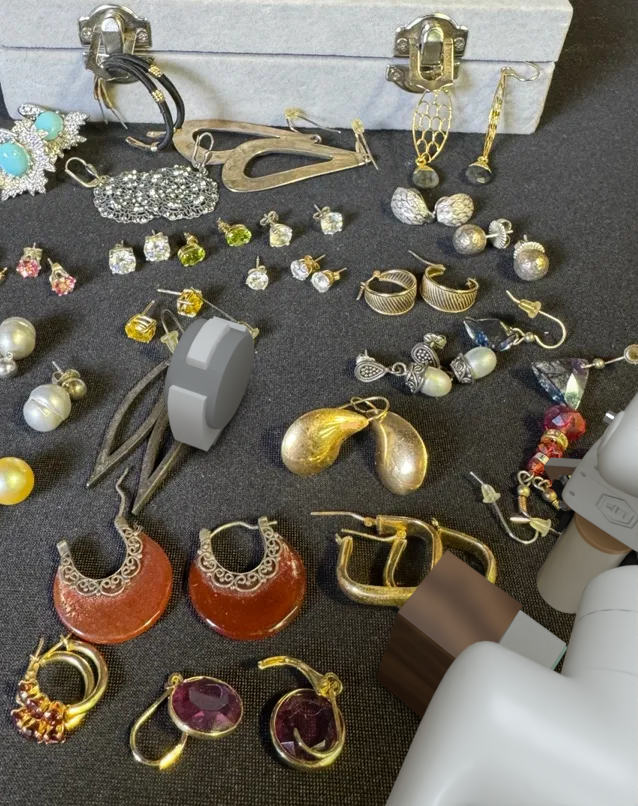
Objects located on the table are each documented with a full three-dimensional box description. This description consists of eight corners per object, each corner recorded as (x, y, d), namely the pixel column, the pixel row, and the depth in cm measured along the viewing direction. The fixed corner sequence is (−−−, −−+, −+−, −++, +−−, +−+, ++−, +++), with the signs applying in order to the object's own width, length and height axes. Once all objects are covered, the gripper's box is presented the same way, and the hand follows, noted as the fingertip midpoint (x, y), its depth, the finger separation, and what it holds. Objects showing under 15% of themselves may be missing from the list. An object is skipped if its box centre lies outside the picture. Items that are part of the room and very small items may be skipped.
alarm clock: (213, 368, 140) (208, 287, 125) (258, 384, 138) (258, 303, 123) (165, 449, 129) (154, 371, 114) (213, 467, 127) (208, 389, 112)
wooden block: (439, 733, 101) (475, 674, 85) (375, 678, 106) (397, 612, 89) (481, 672, 106) (523, 605, 90) (418, 622, 111) (447, 549, 94)
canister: (577, 626, 90) (626, 564, 78) (524, 589, 93) (564, 523, 81) (603, 583, 93) (654, 517, 81) (552, 548, 96) (593, 480, 84)
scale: (530, 704, 104) (536, 697, 102) (472, 658, 108) (476, 650, 105) (563, 652, 108) (569, 644, 106) (505, 610, 112) (510, 601, 110)
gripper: (549, 423, 73) (503, 518, 87) (739, 540, 66) (657, 624, 79) (587, 375, 77) (538, 473, 91) (772, 480, 70) (688, 570, 83)
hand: (594, 542), depth 85 cm, fingers closed on canister, 6 cm apart
